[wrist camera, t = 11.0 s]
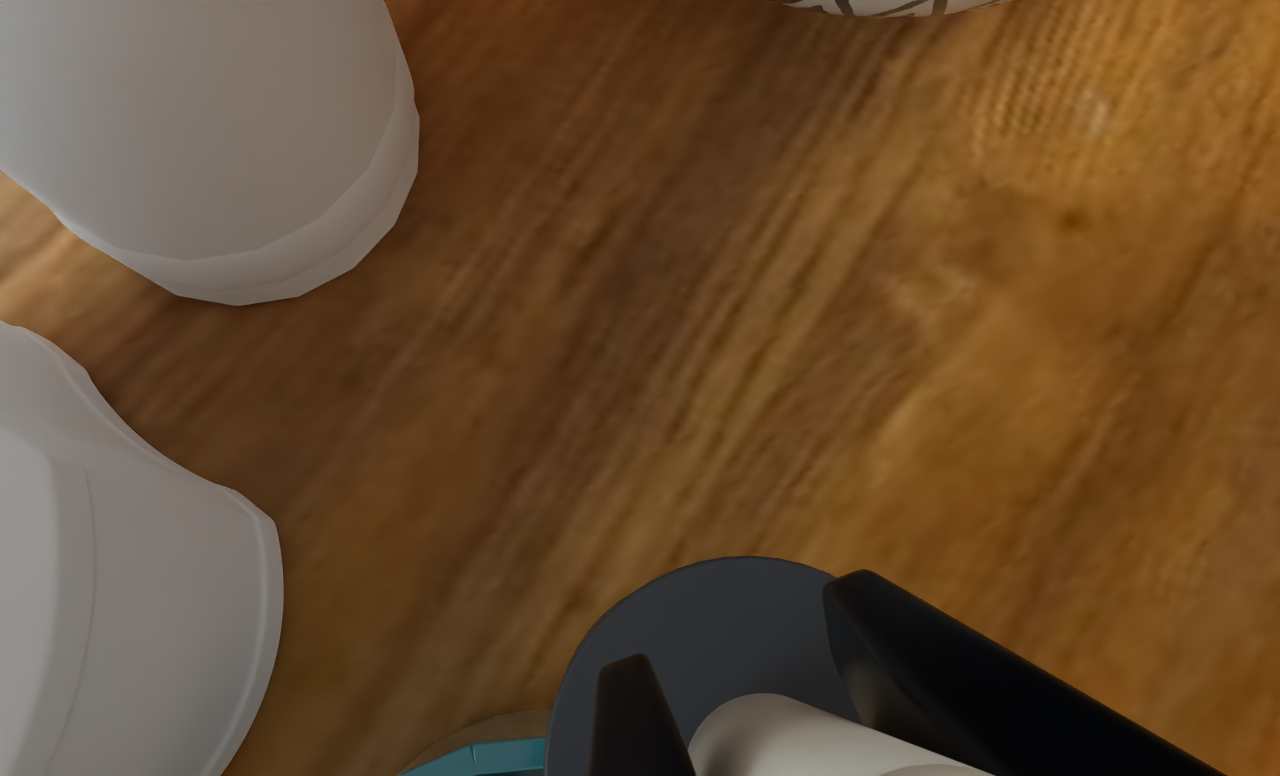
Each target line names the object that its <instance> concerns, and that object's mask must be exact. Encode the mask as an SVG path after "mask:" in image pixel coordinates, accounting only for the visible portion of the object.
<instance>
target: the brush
mask: <svg viewBox="0 0 1280 776" xmlns="http://www.w3.org/2000/svg"><path fill="white" fill-rule="evenodd" d="M833 579H836V577H834V576H833V575H831V574H829V573H826V572H824V571H821V570H818V569H816V568H813V567H810V566H807V565H805V564H801V563H797V562H792V561H788V560H784V559H779V558H770V557H759V556H735V557H723V558H717V559H711V560H705V561H700V562H697V563H694V564H691V565H687V566H684V567H681V568H678V569H675V570H673V571H671V572H669V573H667V574H664V575H662V576H660V577H658V578H656V579H654V580H652V581H650V582H649V583H647V584H645V585H644V586H642V587H640V588H639V589H637V590H636V591H634V592H632V593H631V594H629V595H628V596H626V597H625V598H623V599H622V600H620V601H619V602H617V603H616V604H615V605H614V606H613V607H612V608H610V609H609V610H608V611H607V612H606V613H605V614H603V615H602V617H601V618H600V619H599V620H598V621H597V622H596V623H595V624H594V625H593V626H592V628H591V629H590V630H589V631H588V633H587V634H586V636H585V637H584V639H583V640H582V641H581V643H580V644H579V646H578V647H577V649H576V651H575V653H574V655H573V657H572V659H571V661H570V663H569V665H568V667H567V669H566V672H565V674H564V677H563V679H562V682H561V684H560V687H559V690H558V692H557V695H556V698H555V701H554V703H553V706H552V710H551V715H550V719H549V723H548V728H547V732H546V739H545V749H544V759H543V776H587V769H588V760H589V751H590V742H591V733H592V724H593V715H594V706H595V697H596V688H597V679H598V674H599V671H600V669H601V668H602V667H603V666H605V665H607V664H609V663H612V662H615V661H617V660H620V659H623V658H625V657H628V656H631V655H633V654H636V653H644V654H645V655H647V656H648V658H649V660H650V662H651V664H652V667H653V669H654V671H655V674H656V676H657V679H658V681H659V683H660V686H661V688H662V691H663V693H664V695H665V698H666V700H667V702H668V705H669V707H670V710H671V712H672V714H673V717H674V719H675V722H676V724H677V726H678V729H679V731H680V734H681V736H682V738H683V741H684V743H685V745H686V748H687V750H688V753H689V755H690V758H691V761H692V764H693V766H694V769H695V772H696V775H697V776H994V775H992V774H989V773H986V772H984V771H981V770H978V769H976V768H973V767H971V766H968V765H965V764H963V763H960V762H957V761H955V760H952V759H950V758H947V757H944V756H942V755H939V754H936V753H934V752H931V751H928V750H926V749H923V748H921V747H918V746H915V745H913V744H910V743H907V742H905V741H902V740H900V739H897V738H894V737H892V736H889V735H886V734H884V733H881V732H878V731H876V730H873V729H871V728H868V727H865V726H864V725H863V723H862V721H861V718H860V716H859V714H858V712H857V710H856V708H855V706H854V704H853V702H852V700H851V698H850V696H849V694H848V692H847V690H846V688H845V686H844V684H843V681H842V679H841V677H840V675H839V673H838V671H837V668H836V666H835V663H834V660H833V657H832V654H831V650H830V645H829V638H828V632H827V626H826V620H825V613H824V607H823V601H822V589H823V586H824V585H825V584H826V583H827V582H828V581H831V580H833Z"/></svg>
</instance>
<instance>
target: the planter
mask: <svg viewBox="0 0 1280 776" xmlns="http://www.w3.org/2000/svg"><path fill="white" fill-rule="evenodd" d="M770 1H774V2H777V3H781V4H784V5H788V6H792V7H797V8H802V9H806V10H811V11H816V12H822V13H829V14H836V15H843V16H854V17H869V18H908V17H921V16H933V15H943V14H951V13H958V12H964V11H971V10H977V9H982V8H986V7H990V6H995V5H999V4H1003V3H1007V2H1011V1H1014V0H770Z"/></svg>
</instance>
